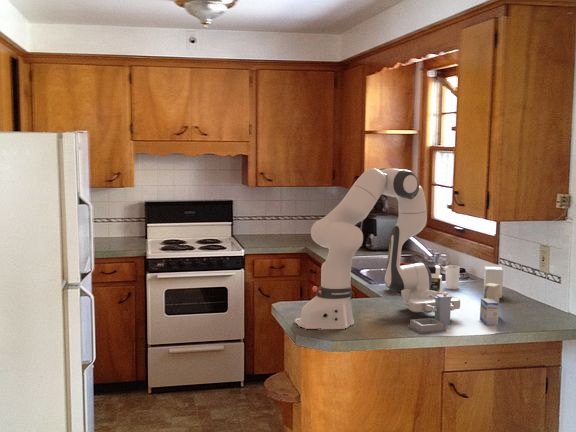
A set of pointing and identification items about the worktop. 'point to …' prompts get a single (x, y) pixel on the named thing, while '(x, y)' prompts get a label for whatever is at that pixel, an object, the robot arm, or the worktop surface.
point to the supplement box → (494, 277)
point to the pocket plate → (426, 325)
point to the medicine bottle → (435, 278)
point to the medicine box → (489, 311)
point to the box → (492, 292)
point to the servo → (443, 308)
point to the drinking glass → (452, 277)
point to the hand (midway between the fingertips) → (443, 309)
